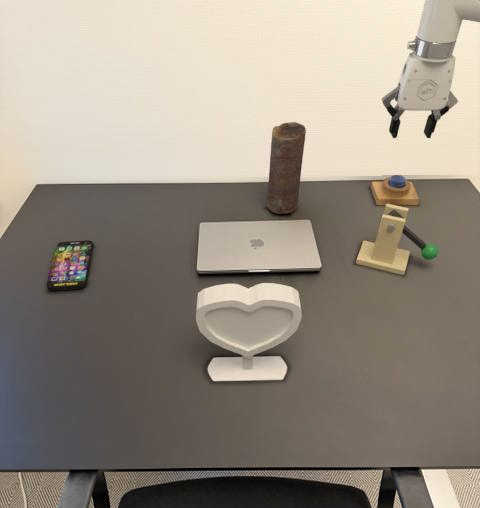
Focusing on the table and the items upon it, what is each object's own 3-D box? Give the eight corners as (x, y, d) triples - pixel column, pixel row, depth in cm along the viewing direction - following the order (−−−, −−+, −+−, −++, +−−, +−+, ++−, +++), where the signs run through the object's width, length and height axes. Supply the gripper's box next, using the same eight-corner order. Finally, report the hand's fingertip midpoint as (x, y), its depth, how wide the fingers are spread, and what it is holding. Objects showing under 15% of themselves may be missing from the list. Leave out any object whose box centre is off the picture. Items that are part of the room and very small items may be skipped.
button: (402, 181, 116) (403, 174, 115) (405, 189, 114) (407, 182, 112) (387, 181, 116) (389, 174, 115) (390, 188, 114) (392, 182, 112)
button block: (409, 187, 120) (413, 175, 117) (417, 205, 114) (421, 192, 112) (370, 187, 120) (373, 175, 117) (376, 205, 114) (379, 192, 112)
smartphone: (93, 239, 103) (85, 285, 93) (94, 243, 104) (86, 289, 94) (57, 242, 103) (44, 288, 92) (58, 245, 103) (46, 291, 93)
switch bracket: (408, 255, 101) (424, 208, 92) (403, 275, 97) (419, 227, 88) (362, 244, 104) (373, 198, 95) (355, 263, 99) (366, 216, 91)
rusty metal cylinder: (302, 214, 112) (311, 132, 97) (274, 220, 110) (279, 138, 95) (289, 198, 116) (296, 117, 102) (261, 203, 115) (265, 122, 100)
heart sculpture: (201, 381, 78) (193, 304, 65) (202, 357, 82) (195, 280, 69) (294, 379, 78) (305, 302, 65) (291, 356, 82) (300, 278, 69)
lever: (429, 256, 97) (442, 247, 95) (427, 265, 95) (440, 257, 93) (383, 216, 95) (395, 206, 92) (381, 224, 93) (393, 215, 90)
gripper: (394, 54, 90) (374, 143, 103) (484, 54, 90) (453, 143, 103) (385, 42, 95) (368, 128, 108) (471, 42, 95) (443, 128, 108)
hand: (410, 134), depth 106 cm, fingers open, 7 cm apart
